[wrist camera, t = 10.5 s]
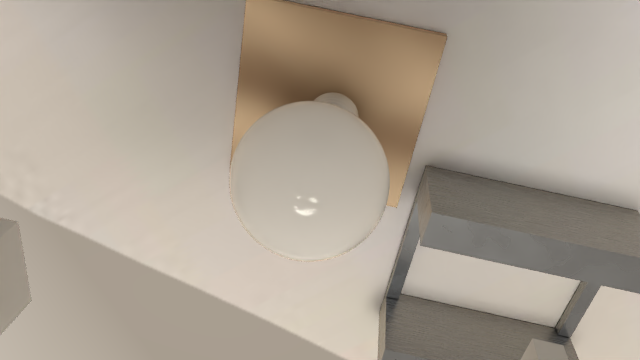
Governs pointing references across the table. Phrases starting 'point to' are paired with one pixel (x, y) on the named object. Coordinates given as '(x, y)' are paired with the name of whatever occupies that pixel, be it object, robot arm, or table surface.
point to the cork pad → (338, 71)
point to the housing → (507, 248)
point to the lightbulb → (310, 179)
